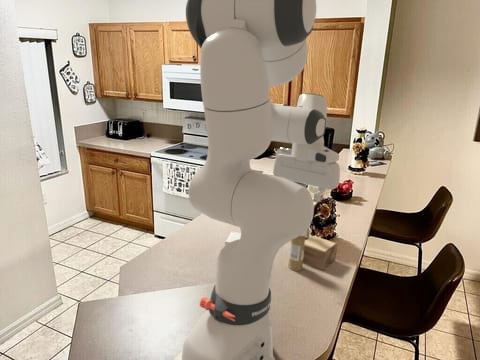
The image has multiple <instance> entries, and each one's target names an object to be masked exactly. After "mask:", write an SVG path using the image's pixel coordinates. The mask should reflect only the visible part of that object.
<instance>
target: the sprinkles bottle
mask: <svg viewBox="0 0 480 360" xmlns="http://www.w3.org/2000/svg"><path fill="white" fill-rule="evenodd" d="M307 229H308V228H307ZM307 229H306V231H305V232H304V233H303V234H301V235H300V236H299V237H297V238H295V239H293V240H290V245H289V256H288V266H287V267H288V268H289V269H290V270H293V271H301V270H302V269H303V264H304V263H303V256H304V243H305V240H306V235H307Z"/></svg>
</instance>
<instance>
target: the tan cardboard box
mask: <svg viewBox="0 0 480 360" xmlns="http://www.w3.org/2000/svg"><path fill="white" fill-rule="evenodd" d="M337 250H338V243H337V242H335V241H330V240H327V239H324V238H322V237H319V236H316V235H312V236H310V237H309V238H307V239H305V243H304V256H303V264H305V265H308V266H310V267H313V268H316V269H318V270H321V271H325V270H326V269H327V268H328V267H329V266H330V265H332V264H333V263H334V262H336V258H337Z"/></svg>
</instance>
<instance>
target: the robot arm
mask: <svg viewBox="0 0 480 360" xmlns="http://www.w3.org/2000/svg"><path fill="white" fill-rule="evenodd" d="M316 17H317V0H187V1H186V5H185V21H186V24H187V27H188V30H189V32H190V34H191V37H192V38H193V40H194V41H195V43H196V44H197V45H198V46H199V49H200V60H199V61H200V62H199V63H200V65H199V67H200V68H199V69H200V87H201V90H200V91H201V98H202V104H203V112H204V119H205V126H206V127H205V128H206V135H207V142H208V143H207V144H208V146H207V147H208V149H207V155H206V160H205V161H204V162H205V163H204V164H203V166H201V167H200V168H199V169H198V170H197V171H196V172H195V173H194V174H193V176H192V177H191V179H190V182H189V187H188V199H189V202H190V204H191V206H192V208H193V209H195V210H197V211H198V212H200V213H201V214H203V215H204V216H206V217H208V218H210V219H211V220H216V221H218V222H222V223H224V224H228V225H232V226H235V227H238V228H239V229H240V233H241V238H240V239H239V240H235V241H232V242H230V243H228V244H226V245H225V244H224V245H223V246H222V247H221V249H220V250H219V252H218V253H217V255H216V263H215V264H216V265H215V284H214V286H213V289H212V291H211V295H210V298H209V299H208V297H206V296H202V298H201V299H200V300H199V304H198V305H199V307H200V308H202V309H205V312H204V313H203V314H202V315H201V317H200V318H199V320H198V321H197V323H195V326H193V328H192V329H191V331H189V333H188V335H187V336H186V337H185V340H184V342H183V346H182V350H181V351H179V353H178V354H177V355H176V356H175V357H174V358H172V360H276V358H275V356H274V351H273V349H274V348H273V347H274V343H273V342H274V340H273V339H274V338H273V337H274V333H273V326H272V322H271V318H270V314H269V312H270V310H271V303H272V291H271V288H270V286H271V277H272V269H273V264H274V261H275V258H276V255H277V254H278V252H279V250H280V249H281V248H282V247H283V246H284V245H286V244H287V243H288V242H291V240H293V239H295V238H297V237H299V236H300V235H301V234H303V233H304V232H305V231H306V229H308V228H309V227H310V226H311V223H312V220H313V217H314V211H315V210H314V209H315V206H314V202H317V203H319V202H321V199H322V195H323V194H324V193H325V192H326V190H331V191H333V190H334V189H336V188H338V186H339V185H340V177H341V175H340V174H341V171H340V169H341V168H340V165H339V163H338V161H339V159H340V154H339V153H338V152H336V151H334V150H332V149H330V148H328V147H327V146H325V139H324V135H325V134H326V133H325V132H326V128H327V116H328V113H327V111H328V109H327V108H328V107H327V104H328V103H327V99H326V96H324V95H323V94H322V95H321V94H316V93H308V92H307V93H302V94H300V95H299V97H298V99H297V105H296V106H291V105H279V104H276V103H273V102H271V97H270V88H273V87H277V86H279V87H280V86H282V85H286V84H287V83H290V82H292V81H293V80H294V79H295V78H296V77H298V76H299V75H300V73H301V72H303V70H304V68H305V66H306V64H307V62H308V41H307V38H308V36H310V35H311V33H312V31H313V29H314V24H315V20H316ZM271 142H279V143H286V144H291V145H292V146H291V148H290V147H289V148H286V147H284V146H283V147H280V148H278V149H277V150H276V152H275V161H274V166H273V171H272V174H273V175H271V174H266V173H262V172H257V171H255V170H253V169H252V168H251V163H250V161H252V160H253V159H256V158H258V157H259V156H261V155H263V154H264V153H265V152H266V150H267V149H268V148H269V147H270V145H271ZM299 183H301V184H303V185H309V186H313V187H317V190H318V193H315V194H314V195H313V197H312V194H311V192H310V191H309V190H308V188H307V187H305V186H303V185H301V184H299ZM306 232H307V231H306Z"/></svg>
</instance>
